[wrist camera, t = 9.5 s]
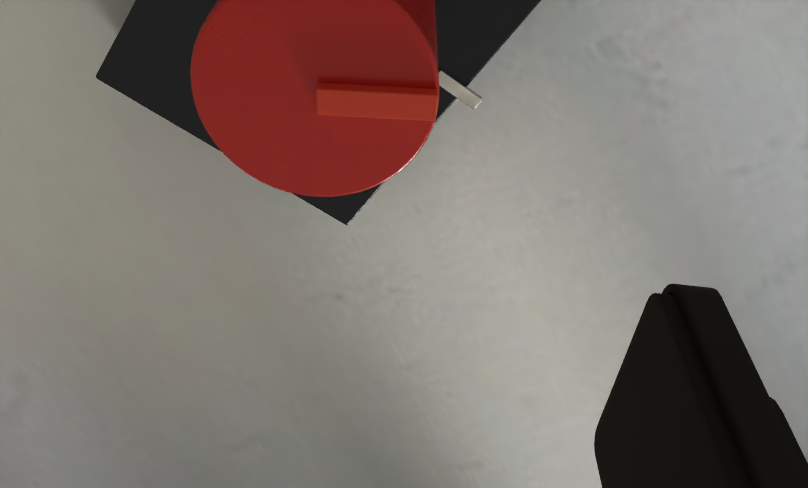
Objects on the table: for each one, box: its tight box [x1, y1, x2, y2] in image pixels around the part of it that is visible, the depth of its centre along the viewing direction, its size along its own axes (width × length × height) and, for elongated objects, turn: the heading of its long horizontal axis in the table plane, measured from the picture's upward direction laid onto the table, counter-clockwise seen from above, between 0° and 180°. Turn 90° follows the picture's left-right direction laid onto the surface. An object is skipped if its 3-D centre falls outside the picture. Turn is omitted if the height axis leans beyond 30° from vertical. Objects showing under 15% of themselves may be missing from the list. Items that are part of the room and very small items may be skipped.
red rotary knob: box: [190, 0, 439, 197], centre depth 17 cm, size 5×5×5 cm
